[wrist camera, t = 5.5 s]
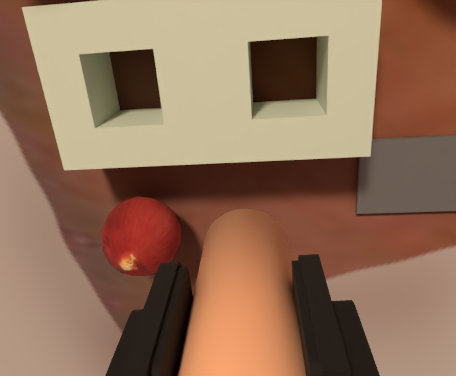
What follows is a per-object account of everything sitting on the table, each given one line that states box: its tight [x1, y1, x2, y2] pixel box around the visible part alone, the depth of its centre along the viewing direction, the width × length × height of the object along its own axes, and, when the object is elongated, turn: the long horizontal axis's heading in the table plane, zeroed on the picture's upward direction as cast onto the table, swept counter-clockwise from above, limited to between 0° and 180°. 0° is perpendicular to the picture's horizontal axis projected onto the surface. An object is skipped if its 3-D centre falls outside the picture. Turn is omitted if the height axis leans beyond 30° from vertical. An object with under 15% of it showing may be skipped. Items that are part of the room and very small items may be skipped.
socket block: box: [22, 0, 382, 170], centre depth 26 cm, size 20×10×5 cm, turn 94°
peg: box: [177, 209, 306, 376], centre depth 10 cm, size 3×3×10 cm
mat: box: [356, 135, 456, 214], centre depth 30 cm, size 8×6×1 cm
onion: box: [102, 196, 181, 276], centre depth 30 cm, size 6×6×8 cm
